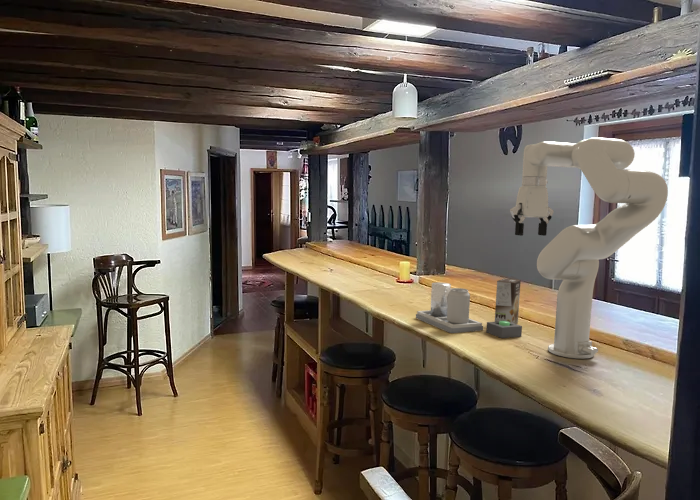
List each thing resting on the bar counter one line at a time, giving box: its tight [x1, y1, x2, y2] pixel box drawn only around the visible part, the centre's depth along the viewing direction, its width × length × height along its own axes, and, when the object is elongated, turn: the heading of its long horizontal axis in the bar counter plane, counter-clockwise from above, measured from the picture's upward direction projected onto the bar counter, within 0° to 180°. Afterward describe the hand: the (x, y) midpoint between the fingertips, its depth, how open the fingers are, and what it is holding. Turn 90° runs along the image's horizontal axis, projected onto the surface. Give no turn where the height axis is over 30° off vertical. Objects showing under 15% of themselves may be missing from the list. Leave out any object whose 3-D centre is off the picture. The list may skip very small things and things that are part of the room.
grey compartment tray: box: [415, 309, 484, 334], centre depth 191 cm, size 23×13×3 cm, turn 23°
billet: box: [430, 281, 452, 317], centre depth 195 cm, size 7×7×12 cm
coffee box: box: [494, 278, 522, 325], centre depth 193 cm, size 9×6×16 cm
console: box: [485, 320, 523, 339], centre depth 178 cm, size 8×8×4 cm
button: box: [499, 321, 510, 326], centre depth 178 cm, size 3×3×3 cm
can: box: [447, 287, 471, 325], centre depth 185 cm, size 8×8×12 cm
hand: (530, 235), depth 176 cm, fingers open, 9 cm apart
